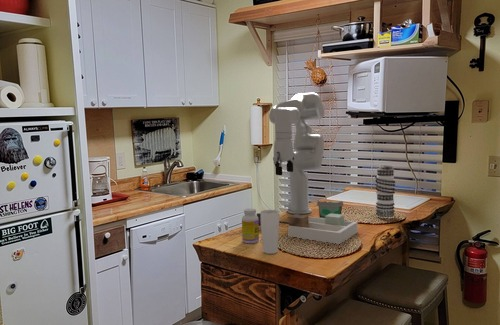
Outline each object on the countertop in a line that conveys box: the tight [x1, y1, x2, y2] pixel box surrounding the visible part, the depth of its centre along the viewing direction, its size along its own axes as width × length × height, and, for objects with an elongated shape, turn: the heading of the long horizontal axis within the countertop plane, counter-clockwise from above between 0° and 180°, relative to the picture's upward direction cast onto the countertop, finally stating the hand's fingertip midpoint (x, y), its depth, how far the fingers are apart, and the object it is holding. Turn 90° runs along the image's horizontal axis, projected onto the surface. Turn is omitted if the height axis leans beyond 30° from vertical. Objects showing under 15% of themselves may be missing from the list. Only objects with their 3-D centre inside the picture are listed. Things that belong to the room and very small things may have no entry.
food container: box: [316, 200, 344, 218], centre depth 192 cm, size 12×6×10 cm, turn 70°
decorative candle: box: [374, 164, 396, 218], centre depth 200 cm, size 9×9×25 cm
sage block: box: [325, 213, 345, 226], centre depth 175 cm, size 6×6×6 cm
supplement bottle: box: [241, 208, 260, 244], centre depth 165 cm, size 7×7×13 cm
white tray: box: [287, 216, 359, 245], centre depth 173 cm, size 22×20×4 cm
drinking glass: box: [260, 209, 280, 255], centre depth 151 cm, size 7×7×15 cm
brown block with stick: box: [256, 212, 309, 228], centre depth 179 cm, size 24×6×6 cm, turn 56°
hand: (284, 173), depth 190 cm, fingers open, 9 cm apart
